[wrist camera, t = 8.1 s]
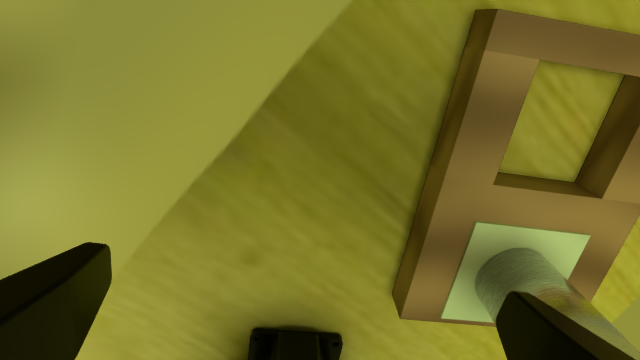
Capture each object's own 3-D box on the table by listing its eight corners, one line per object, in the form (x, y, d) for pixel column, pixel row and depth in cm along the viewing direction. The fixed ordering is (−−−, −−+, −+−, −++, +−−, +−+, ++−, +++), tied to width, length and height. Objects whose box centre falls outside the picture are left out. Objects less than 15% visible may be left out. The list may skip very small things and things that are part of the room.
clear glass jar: (532, 311, 23) (655, 472, 15) (464, 304, 23) (554, 465, 15) (562, 252, 22) (720, 398, 13) (489, 243, 21) (607, 388, 13)
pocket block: (552, 309, 27) (574, 335, 24) (392, 294, 25) (400, 321, 23) (687, 48, 20) (736, 52, 17) (476, 10, 18) (500, 8, 16)
